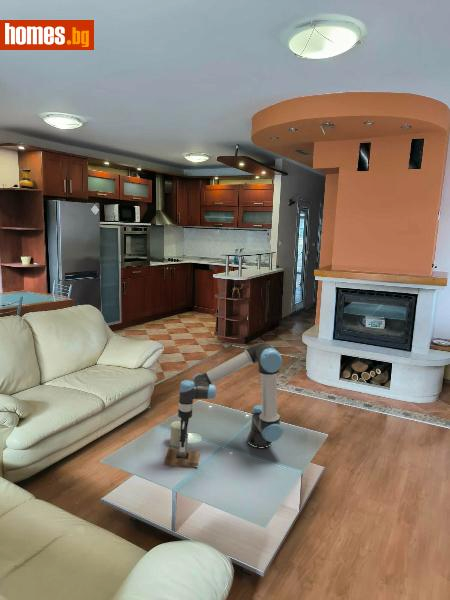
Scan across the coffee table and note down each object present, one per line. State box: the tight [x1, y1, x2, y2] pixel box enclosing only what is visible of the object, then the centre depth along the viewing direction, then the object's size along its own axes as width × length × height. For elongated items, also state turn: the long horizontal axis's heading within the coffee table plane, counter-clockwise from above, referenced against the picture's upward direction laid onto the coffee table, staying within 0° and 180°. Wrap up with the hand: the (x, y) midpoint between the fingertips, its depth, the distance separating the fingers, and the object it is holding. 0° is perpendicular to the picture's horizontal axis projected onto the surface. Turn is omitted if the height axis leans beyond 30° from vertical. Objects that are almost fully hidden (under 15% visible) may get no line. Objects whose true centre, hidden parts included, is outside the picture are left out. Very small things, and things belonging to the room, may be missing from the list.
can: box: [169, 420, 181, 448], centre depth 241 cm, size 9×9×12 cm
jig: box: [163, 445, 201, 468], centre depth 224 cm, size 18×12×5 cm, turn 89°
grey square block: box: [177, 433, 189, 458], centre depth 223 cm, size 4×4×11 cm
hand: (182, 449), depth 223 cm, fingers closed on grey square block, 4 cm apart
